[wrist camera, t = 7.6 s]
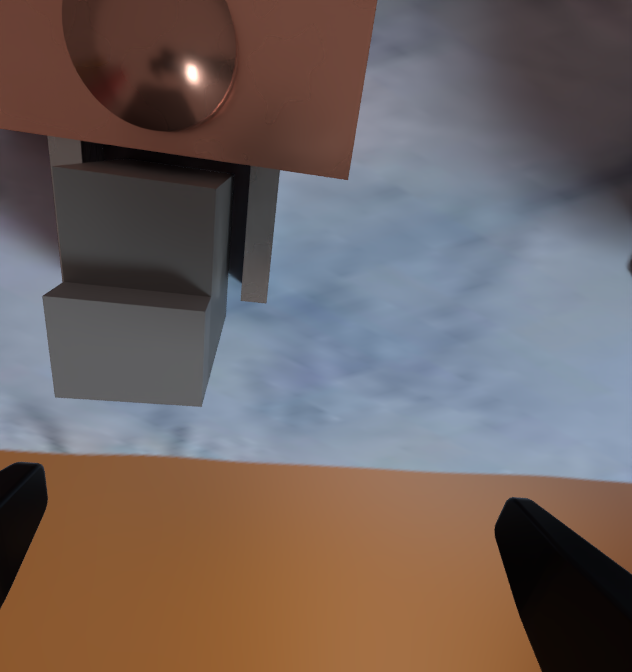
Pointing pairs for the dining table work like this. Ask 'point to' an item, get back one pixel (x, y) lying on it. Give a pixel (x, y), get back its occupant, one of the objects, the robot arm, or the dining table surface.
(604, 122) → the dining table surface
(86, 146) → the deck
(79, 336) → the grey stepped block
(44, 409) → the dining table surface
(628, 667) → the robot arm
